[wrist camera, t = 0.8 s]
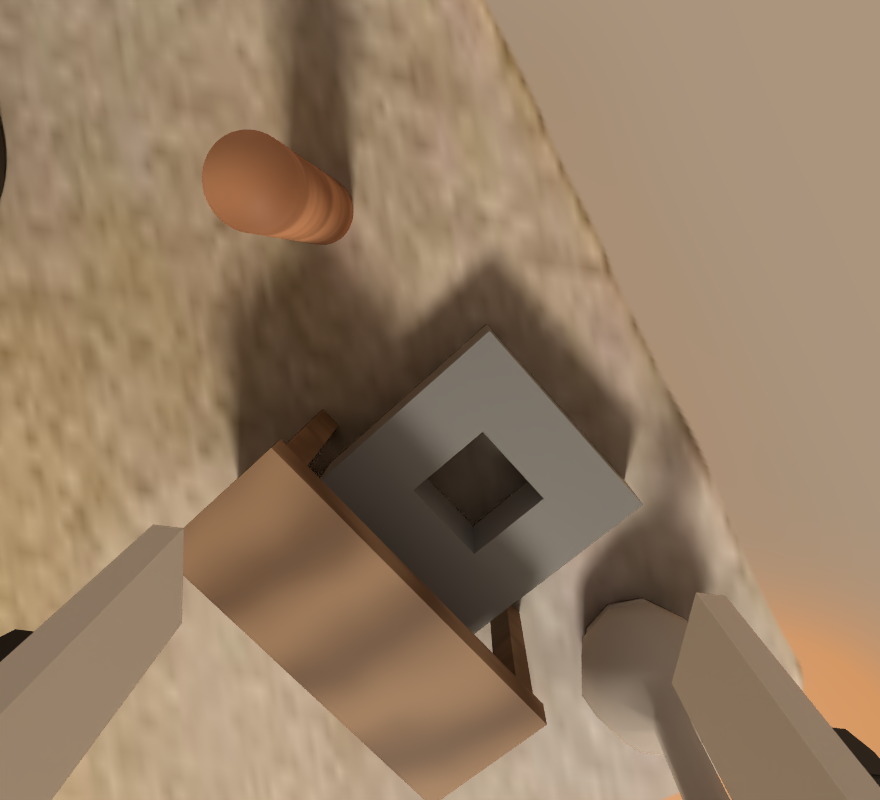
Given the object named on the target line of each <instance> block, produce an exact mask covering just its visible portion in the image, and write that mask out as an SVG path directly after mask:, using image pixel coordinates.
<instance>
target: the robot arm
mask: <svg viewBox="0 0 880 800" xmlns="http://www.w3.org/2000/svg"><path fill="white" fill-rule="evenodd" d="M4 173H5V153H4V143H3V137H2V131H1V127H0V196H1V192H2V188H3V182H4ZM183 537H184V528H177V527H169V526H161V525H152V526H151V527H150V528H149V529H148V530H147V531H146V532H145V533H143V534H142V535H141V536H140V537H139V538H138V539H137V540H136V541H135V542H133V543H132V544H131V545H130V546H129V547H128V548H127V549H126V550H124V551H123V552H122V553H121V554H120V555H119V556H118V557H117V558H116V559H114V560H113V561H112V562H111V563H110V564H109V565H108V566H107V567H106V568H104V569H103V570H102V571H101V572H100V573H99V574H98V575H97V576H96V577H94V578H93V579H92V580H91V581H90V582H89V583H88V584H87V585H86V586H84V587H83V588H82V589H81V590H80V591H79V592H78V593H77V594H76V595H74V596H73V597H72V598H71V599H70V600H69V601H68V602H67V603H66V604H64V605H63V606H62V607H61V608H60V609H59V610H58V611H57V612H55V613H54V614H53V615H52V616H51V617H50V618H49V619H48V620H47V621H45V622H44V623H43V624H42V625H41V626H40V627H39V628H38V629H37V630H35V631H34V632H33V631H25V630H17V629H15V630H13V631H11V632H9V633H7V634H5V635H3V636H1V637H0V800H52V799H53V797H54V796H55V794H56V793H57V792H58V790H59V789H60V788H61V786H62V785H63V784H64V782H65V781H66V779H67V778H68V777H69V775H70V774H71V773H72V771H73V770H74V769H75V767H76V766H77V765H78V763H79V762H80V760H81V759H82V758H83V756H84V755H85V754H86V752H87V751H88V750H89V748H90V747H91V746H92V744H93V743H94V741H95V740H96V739H97V737H98V736H99V735H100V733H101V732H102V731H103V729H104V728H105V727H106V725H107V724H108V722H109V721H110V720H111V718H112V717H113V716H114V714H115V713H116V712H117V710H118V709H119V708H120V706H121V705H122V703H123V702H124V701H125V699H126V698H127V697H128V695H129V694H130V693H131V691H132V690H133V689H134V687H135V686H136V684H137V683H138V682H139V680H140V679H141V678H142V676H143V675H144V674H145V672H146V671H147V670H148V668H149V667H150V665H151V664H152V663H153V661H154V660H155V659H156V657H157V656H158V655H159V653H160V652H161V650H162V649H163V648H164V646H165V645H166V644H167V642H168V641H169V640H170V638H171V637H172V636H173V634H174V633H175V631H176V630H177V629H178V627H179V626H180V625H181V623H182V589H183ZM672 685H673V687H674V689H675V691H676V692H677V694H678V696H679V698H680V700H681V702H682V704H683V706H684V708H685V710H686V712H687V714H688V716H689V718H690V720H691V722H692V723H693V725H694V727H695V729H696V731H697V733H698V735H699V737H700V739H701V741H702V743H703V745H704V747H705V749H706V751H707V752H708V754H709V756H710V758H711V760H712V762H713V764H714V766H715V768H716V770H717V772H718V774H719V776H720V777H721V779H722V782H723V783H724V785H725V787H726V789H727V791H728V793H729V795H730V797H731V799H732V800H880V758H879V757H878V756H877V755H876V754H875V753H874V752H873V751H872V750H871V749H870V748H868V747H867V746H866V745H865V744H863V743H862V742H861V741H860V740H858V739H857V738H856V737H855V736H853V735H852V734H851V733H850V732H848V731H847V730H846V729H840V728H832V727H831V726H830V725H829V724H828V722H827V721H826V720H825V719H824V717H823V716H822V715H821V714H820V713H819V711H818V710H817V709H816V708H815V706H814V705H813V704H812V702H811V701H810V700H809V699H808V698H807V696H806V695H805V694H804V693H803V691H802V690H801V689H800V688H799V686H798V685H797V684H796V683H795V681H794V680H793V679H792V678H791V676H790V675H789V674H788V673H787V672H786V670H785V669H784V668H783V667H782V665H781V664H780V663H779V662H778V660H777V659H776V658H775V657H774V655H773V654H772V653H771V652H770V651H769V649H768V648H767V647H766V646H765V644H764V643H763V642H762V641H761V639H760V638H759V637H758V636H757V634H756V633H755V632H754V631H753V629H752V628H751V627H750V626H749V625H748V623H747V622H746V621H745V620H744V618H743V617H742V616H741V615H740V613H739V612H738V611H737V610H736V608H735V607H734V606H733V605H732V603H731V602H730V601H729V600H728V599H727V597H726V596H722V595H714V594H706V593H698V592H696V594H695V598H694V601H693V605H692V609H691V613H690V616H689V620H688V624H687V627H686V631H685V635H684V639H683V642H682V646H681V650H680V654H679V657H678V661H677V665H676V669H675V672H674V676H673V680H672Z"/></svg>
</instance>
